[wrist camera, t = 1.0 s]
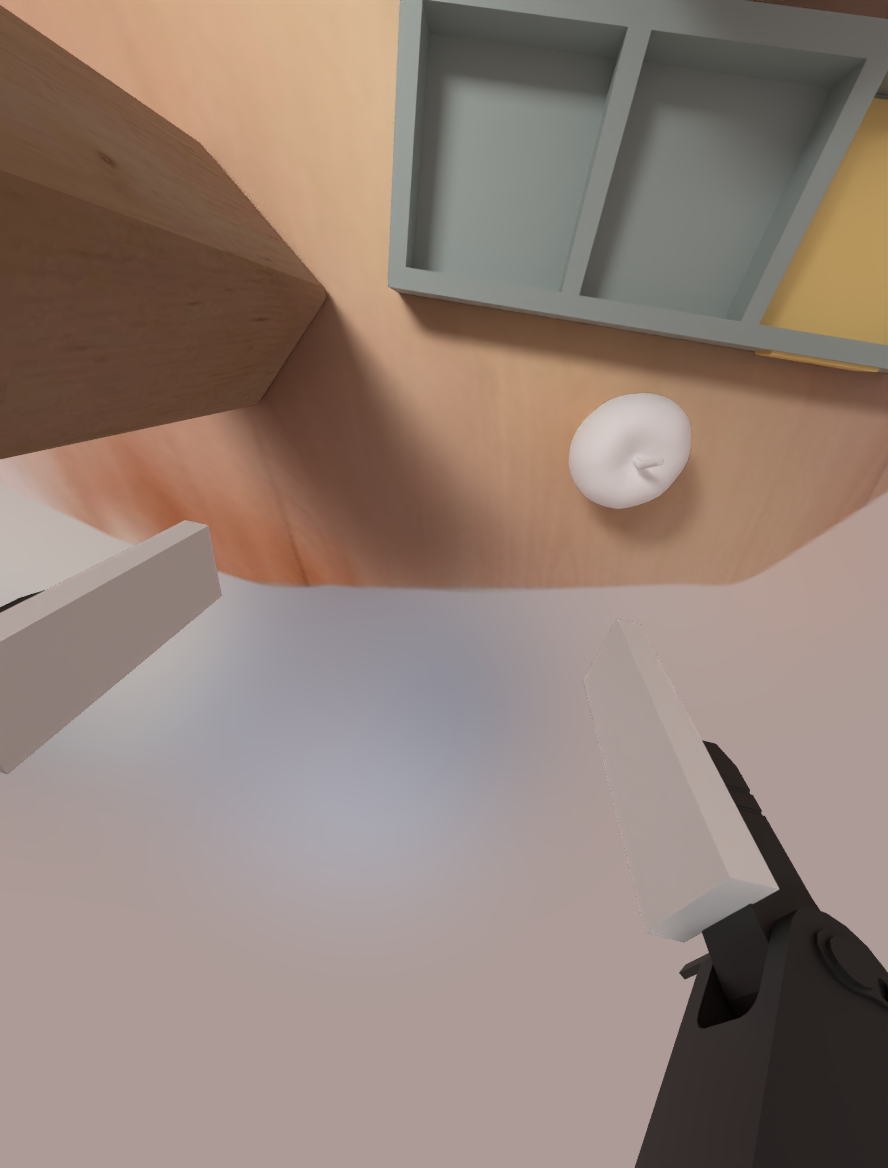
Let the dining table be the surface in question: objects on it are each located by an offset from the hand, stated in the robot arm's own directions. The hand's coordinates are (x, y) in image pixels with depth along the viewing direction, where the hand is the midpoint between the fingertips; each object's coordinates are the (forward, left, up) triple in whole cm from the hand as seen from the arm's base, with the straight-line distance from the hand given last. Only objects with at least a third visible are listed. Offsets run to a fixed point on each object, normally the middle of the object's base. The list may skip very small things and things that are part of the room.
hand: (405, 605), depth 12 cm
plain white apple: (-3, +11, -20) cm, 23 cm away
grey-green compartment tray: (-15, +10, -20) cm, 27 cm away
